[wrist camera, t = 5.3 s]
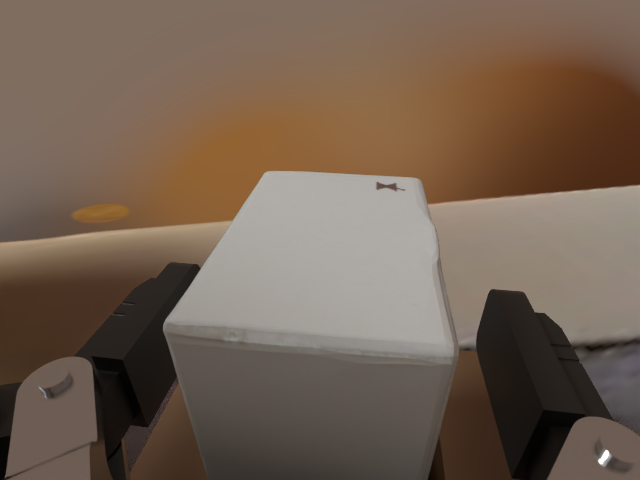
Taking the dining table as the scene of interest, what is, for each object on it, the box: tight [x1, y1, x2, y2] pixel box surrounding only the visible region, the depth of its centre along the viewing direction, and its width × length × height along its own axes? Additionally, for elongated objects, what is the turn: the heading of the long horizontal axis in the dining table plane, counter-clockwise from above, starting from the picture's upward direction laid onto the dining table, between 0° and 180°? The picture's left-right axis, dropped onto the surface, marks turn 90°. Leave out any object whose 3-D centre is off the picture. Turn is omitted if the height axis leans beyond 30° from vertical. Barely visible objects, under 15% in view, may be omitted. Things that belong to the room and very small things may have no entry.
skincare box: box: [163, 171, 459, 480], centre depth 11 cm, size 6×4×12 cm
